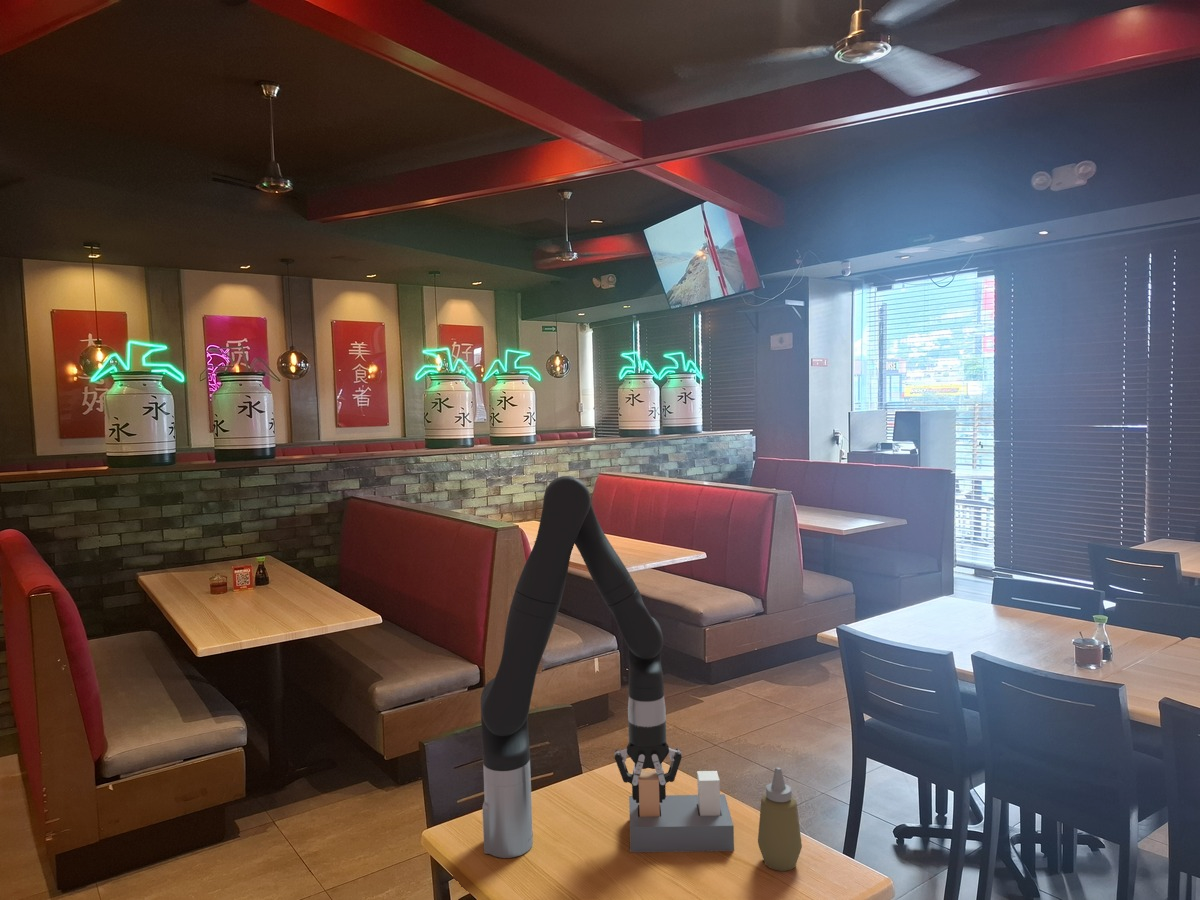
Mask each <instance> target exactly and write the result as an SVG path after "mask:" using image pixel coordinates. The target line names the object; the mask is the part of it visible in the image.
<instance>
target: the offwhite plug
mask: <svg viewBox="0 0 1200 900" xmlns="http://www.w3.org/2000/svg"><path fill="white" fill-rule="evenodd" d="M696 772H697V775H696V776H697V778H696V779H697V795H698V814H699V816H720V794H721V787H720V786H721V783H720V777H719V774H718V770H697V771H696Z"/></svg>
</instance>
